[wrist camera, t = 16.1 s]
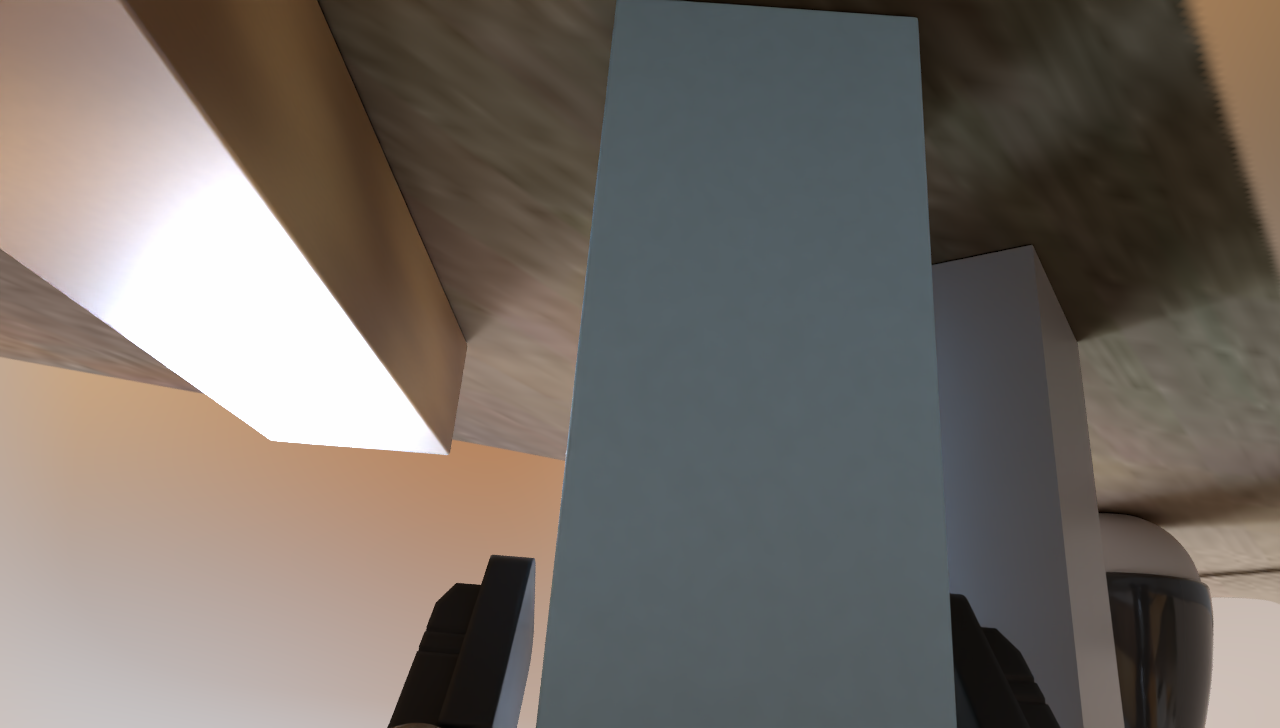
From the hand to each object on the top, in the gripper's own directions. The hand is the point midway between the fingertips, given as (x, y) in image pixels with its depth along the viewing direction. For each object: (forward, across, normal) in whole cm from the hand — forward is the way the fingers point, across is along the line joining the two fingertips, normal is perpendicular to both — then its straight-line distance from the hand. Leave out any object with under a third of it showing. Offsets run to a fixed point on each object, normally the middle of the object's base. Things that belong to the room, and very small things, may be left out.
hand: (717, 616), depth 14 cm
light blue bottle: (+1, 0, 0) cm, 1 cm away
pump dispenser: (+30, -24, +16) cm, 42 cm away
